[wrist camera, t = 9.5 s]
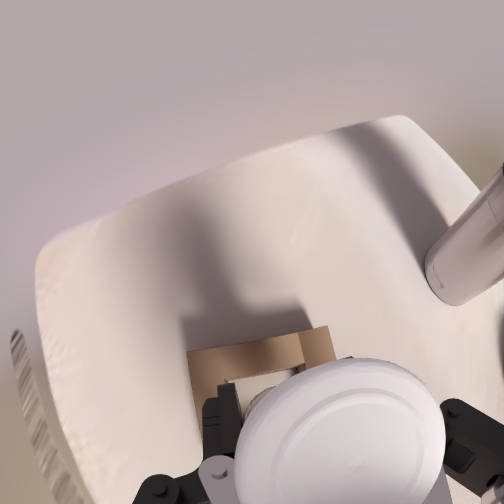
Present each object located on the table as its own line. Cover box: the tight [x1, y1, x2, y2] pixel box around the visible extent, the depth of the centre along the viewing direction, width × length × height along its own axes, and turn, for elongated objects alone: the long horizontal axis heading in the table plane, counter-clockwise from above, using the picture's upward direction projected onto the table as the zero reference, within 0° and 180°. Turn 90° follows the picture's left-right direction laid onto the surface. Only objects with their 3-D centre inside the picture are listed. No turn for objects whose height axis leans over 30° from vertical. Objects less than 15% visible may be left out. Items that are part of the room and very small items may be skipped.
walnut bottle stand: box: [187, 326, 336, 442], centre depth 23 cm, size 13×13×4 cm
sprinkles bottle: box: [234, 358, 446, 504], centre depth 10 cm, size 5×5×14 cm
